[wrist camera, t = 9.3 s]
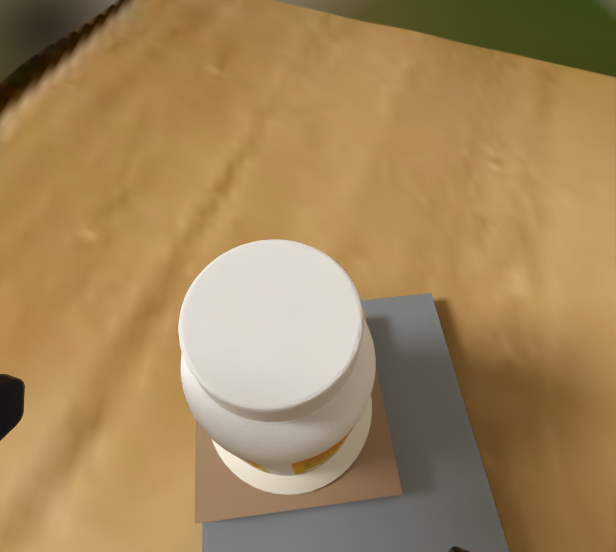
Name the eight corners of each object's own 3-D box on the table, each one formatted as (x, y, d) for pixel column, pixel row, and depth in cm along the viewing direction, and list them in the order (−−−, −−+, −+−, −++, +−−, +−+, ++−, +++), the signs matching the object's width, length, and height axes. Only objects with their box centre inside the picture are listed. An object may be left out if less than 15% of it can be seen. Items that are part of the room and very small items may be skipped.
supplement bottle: (351, 347, 18) (392, 217, 10) (352, 480, 16) (408, 459, 7) (233, 342, 18) (172, 207, 10) (215, 473, 16) (109, 442, 7)
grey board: (542, 698, 15) (584, 733, 12) (208, 758, 14) (189, 806, 12) (426, 301, 22) (439, 279, 20) (207, 325, 21) (196, 305, 19)
